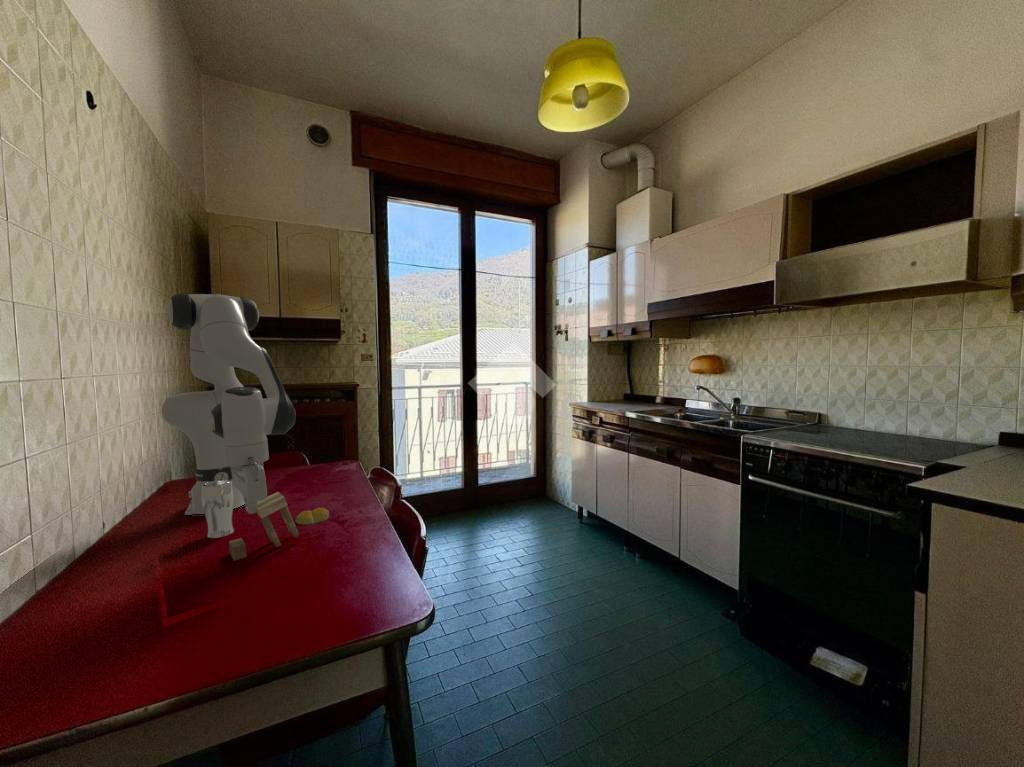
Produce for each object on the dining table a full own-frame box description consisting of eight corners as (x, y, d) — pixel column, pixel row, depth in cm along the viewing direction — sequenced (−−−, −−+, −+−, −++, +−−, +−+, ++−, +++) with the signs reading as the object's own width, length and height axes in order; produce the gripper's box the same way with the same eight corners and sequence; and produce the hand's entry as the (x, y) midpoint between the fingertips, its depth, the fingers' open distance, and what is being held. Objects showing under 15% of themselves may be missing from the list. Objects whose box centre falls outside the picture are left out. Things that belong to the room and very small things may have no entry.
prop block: (230, 554, 99) (229, 541, 98) (242, 550, 100) (241, 537, 100) (233, 561, 95) (232, 547, 95) (246, 557, 97) (245, 543, 97)
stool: (269, 541, 105) (252, 504, 102) (293, 528, 109) (277, 491, 106) (275, 548, 100) (257, 509, 98) (300, 534, 104) (284, 496, 102)
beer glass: (242, 532, 115) (238, 478, 114) (222, 542, 108) (218, 486, 107) (219, 532, 116) (215, 479, 115) (198, 542, 109) (193, 486, 108)
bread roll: (296, 521, 122) (295, 508, 122) (329, 515, 125) (328, 502, 125) (294, 531, 114) (293, 517, 114) (329, 525, 118) (329, 511, 118)
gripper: (272, 458, 93) (276, 518, 94) (253, 447, 108) (257, 499, 109) (239, 463, 89) (243, 527, 89) (224, 452, 104) (229, 506, 105)
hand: (251, 512), depth 99 cm, fingers closed, pressing on stool
